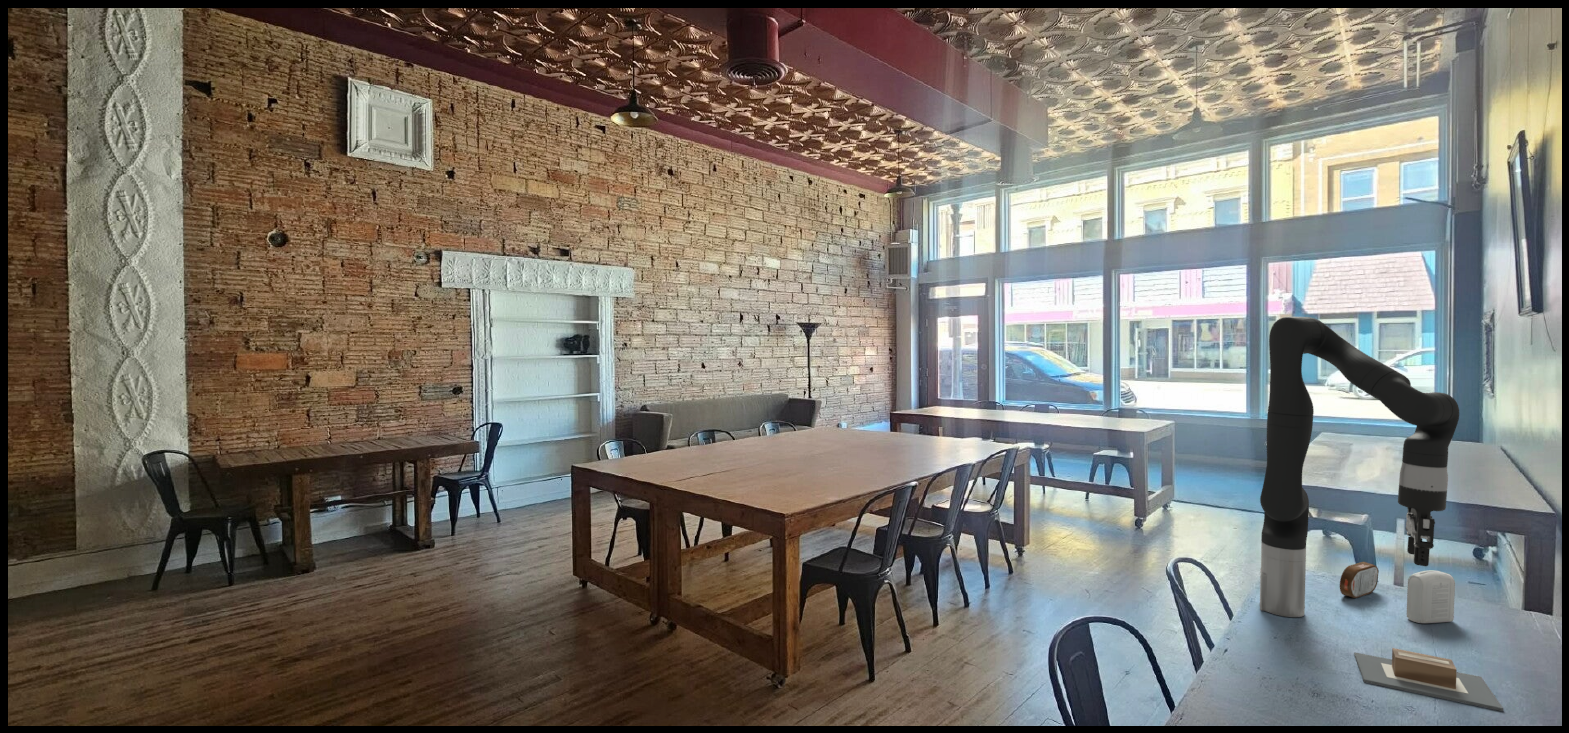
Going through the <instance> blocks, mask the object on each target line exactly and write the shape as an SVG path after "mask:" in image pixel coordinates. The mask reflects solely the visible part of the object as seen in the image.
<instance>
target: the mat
mask: <svg viewBox="0 0 1569 733" xmlns="http://www.w3.org/2000/svg"><path fill="white" fill-rule="evenodd" d="M1353 655H1354V658H1355V661H1356V664H1357V666H1358V669H1359V672H1360V675H1361V678H1362V680H1363V683H1367V684H1371V685H1377V686H1380V687H1386V688H1389V689H1395V690H1399V691H1405V692H1407V693H1408V692H1409V693H1413V694H1419V695H1424V696H1429V697H1433V698H1437V699H1442V700H1448V701H1452V702H1458V703H1462V704H1466V705H1469V706H1470V705H1471V706H1475V707H1481V708H1484V709H1488V710H1489V709H1490V710H1494V711H1500V712H1504V707H1503V706H1502V704H1501V702H1500V701H1499V700H1498V699H1497V697H1496V696H1495V695H1494V693H1493V692H1492V690H1491V689H1490V687H1489V686H1488V684H1487V683H1486V681H1485V679H1484V678H1483V677H1482V676H1480V675H1474V674H1468V673H1465V672H1464V673H1463V672H1459V671H1458V672H1457V673H1456V689H1452V688H1447V687H1443V686H1438V685H1433V684H1429V683H1424V682H1419V681H1415V680H1410V679H1406V678H1401V677H1396V676H1395V675H1394V672H1393V669H1392V658H1386V657H1380V656H1375V655H1370V654H1367V653H1360V652H1355V651H1354V652H1353Z"/></svg>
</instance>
